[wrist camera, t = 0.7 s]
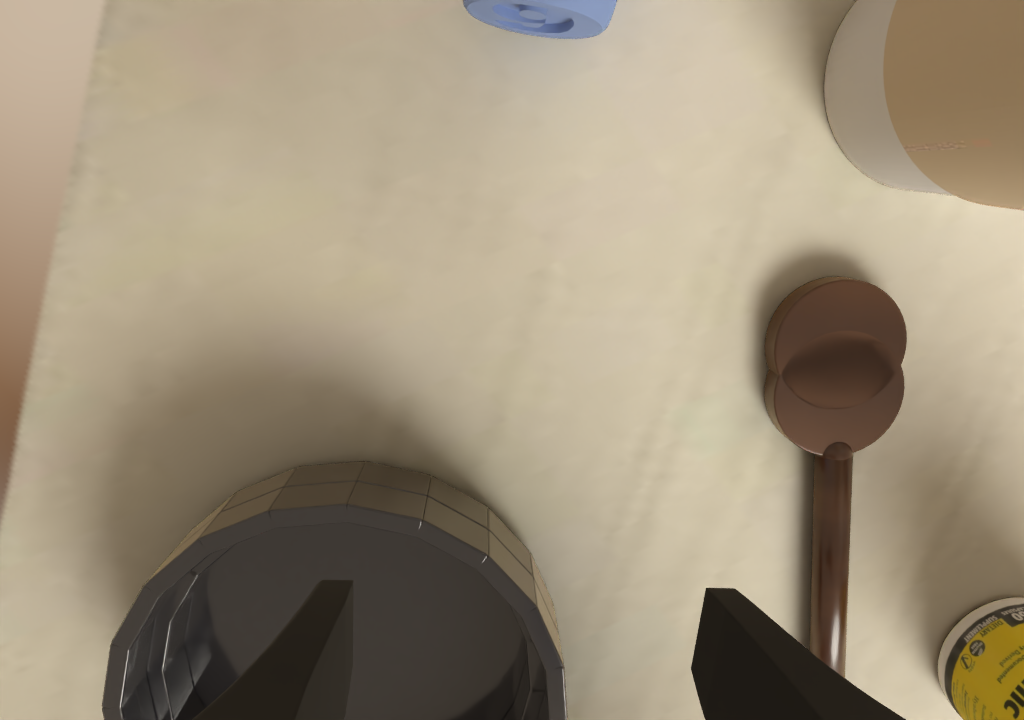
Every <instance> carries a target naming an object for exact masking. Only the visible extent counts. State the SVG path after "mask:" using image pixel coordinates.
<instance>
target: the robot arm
mask: <svg viewBox="0 0 1024 720" xmlns="http://www.w3.org/2000/svg"><path fill="white" fill-rule="evenodd" d="M352 668H353V580H321V581H320V582H319V583H318V584H317V585H316V586H315V587H314V589H313V590H312V592H311V593H310V595H309V596H308V597H307V599H306V600H305V602H304V603H303V604H302V606H301V607H300V608H299V609H298V611H297V612H296V613H295V615H294V616H293V617H292V618H291V620H290V621H289V622H288V623H287V625H286V626H285V627H284V628H283V629H282V631H281V632H280V633H279V634H278V635H277V636H276V638H275V639H274V640H273V641H272V642H271V644H270V645H269V646H268V647H267V648H266V649H265V650H264V652H263V653H262V654H261V655H260V656H259V657H258V658H257V659H256V660H255V661H254V662H253V663H252V664H251V665H250V666H249V667H248V668H247V669H246V670H245V672H244V673H243V674H242V675H241V676H240V677H239V678H238V679H237V680H236V681H235V682H234V683H233V684H232V685H231V686H230V687H229V688H227V689H226V690H225V691H224V692H223V693H222V694H221V695H220V696H219V697H218V698H217V699H216V700H214V701H213V702H212V703H211V704H210V705H209V706H208V707H206V708H205V709H204V710H203V711H202V712H201V713H200V714H198V715H197V716H196V717H195V718H193V719H192V720H344V718H345V714H346V707H347V701H348V695H349V688H350V681H351V674H352ZM691 670H692V674H693V678H694V682H695V686H696V689H697V693H698V697H699V700H700V704H701V707H702V710H703V714H704V717H705V720H906V719H904V718H902V717H901V716H899V715H898V714H896V713H895V712H893V711H892V710H890V709H888V708H887V707H885V706H884V705H882V704H881V703H879V702H878V701H876V700H875V699H873V698H872V697H870V696H869V695H867V694H866V693H864V692H863V691H861V690H860V689H859V688H857V687H856V686H854V685H853V684H852V683H850V682H849V681H848V680H846V679H845V678H844V677H842V676H841V675H840V674H838V673H837V672H836V671H834V670H833V669H832V668H830V667H829V666H828V665H826V664H825V663H824V662H823V661H821V660H820V659H819V658H818V657H816V656H815V655H814V654H813V653H811V652H810V651H809V650H808V649H806V648H805V647H804V646H803V645H802V644H800V643H799V642H798V641H797V640H796V639H794V638H793V637H792V636H791V635H790V634H788V633H787V632H786V631H785V630H784V629H783V628H781V627H780V626H779V625H778V624H777V623H776V622H774V621H773V620H772V619H771V618H770V617H769V616H767V615H766V614H765V613H764V612H763V611H762V610H760V609H759V608H758V607H757V606H756V605H754V604H753V603H752V602H751V601H750V600H749V599H747V598H746V597H745V596H744V595H742V594H741V593H740V592H739V591H737V590H736V589H730V588H706V591H705V597H704V602H703V607H702V613H701V618H700V624H699V629H698V634H697V640H696V645H695V650H694V656H693V661H692V666H691Z"/></svg>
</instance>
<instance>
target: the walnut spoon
mask: <svg viewBox="0 0 1024 720" xmlns="http://www.w3.org/2000/svg"><path fill="white" fill-rule="evenodd" d="M906 342H907V334H906V326H905V322H904V319H903V316H902V314H901V312H900V309H899V308H898V306H897V305H896V303H895V302H894V301H893V299H892V298H891V297H890V296H889V295H888V294H887V293H885V292H884V291H883V290H882V289H880V288H878V287H877V286H875V285H872V284H870V283H868V282H864V281H860V280H856V279H852V278H846V277H826V278H821V279H817V280H814V281H811V282H809V283H807V284H805V285H803V286H801V287H799V288H798V289H796V290H795V291H794V292H792V293H791V294H790V295H789V296H788V297H787V298H786V299H785V300H784V301H783V302H782V303H781V304H780V306H779V307H778V308H777V310H776V311H775V313H774V315H773V317H772V319H771V321H770V323H769V326H768V329H767V333H766V338H765V356H766V361H767V365H768V368H769V371H768V374H767V377H766V382H765V391H764V394H765V404H766V408H767V411H768V414H769V416H770V418H771V420H772V422H773V424H774V425H775V426H776V428H777V429H778V430H779V431H780V432H781V433H782V434H783V435H784V436H785V437H787V438H788V439H789V440H790V441H792V442H793V443H794V444H796V445H797V446H798V447H800V448H802V449H804V450H805V451H808V452H811V453H813V454H814V497H813V539H812V581H811V623H810V652H811V653H813V654H814V655H815V656H816V657H818V658H819V659H820V660H821V661H823V662H824V663H825V664H826V665H828V666H829V667H830V668H832V669H833V670H834V671H836V672H837V673H838V674H840V675H841V676H842V677H844V678H845V658H846V630H847V603H848V576H849V548H850V521H851V494H852V466H853V453H854V452H856V451H859V450H861V449H863V448H865V447H867V446H869V445H870V444H872V443H873V442H875V441H876V440H877V439H878V438H880V437H881V436H882V435H883V434H884V433H885V432H886V431H887V429H888V428H889V427H890V426H891V424H892V423H893V421H894V420H895V418H896V416H897V414H898V412H899V410H900V407H901V404H902V400H903V395H904V376H903V371H902V368H901V364H902V361H903V358H904V354H905V350H906Z"/></svg>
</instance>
